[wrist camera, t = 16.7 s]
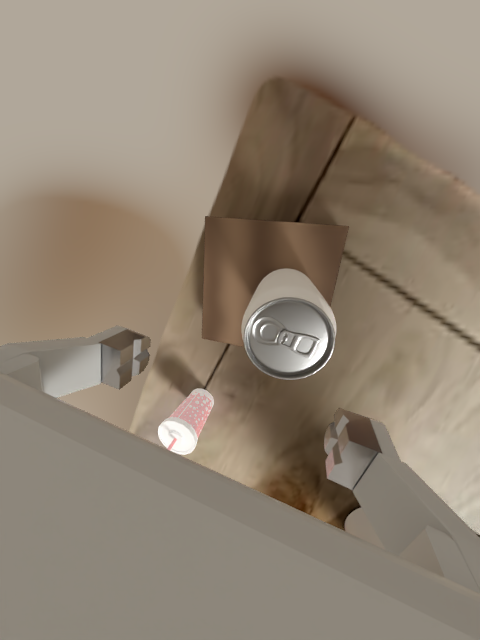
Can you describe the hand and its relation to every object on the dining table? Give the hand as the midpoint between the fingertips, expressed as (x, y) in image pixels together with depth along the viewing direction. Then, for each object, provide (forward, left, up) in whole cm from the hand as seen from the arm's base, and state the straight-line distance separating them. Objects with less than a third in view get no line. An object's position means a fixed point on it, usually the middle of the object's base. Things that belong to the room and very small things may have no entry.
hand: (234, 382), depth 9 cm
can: (-1, 0, -18) cm, 18 cm away
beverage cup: (+8, +24, -24) cm, 34 cm away
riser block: (+2, 0, -24) cm, 24 cm away
